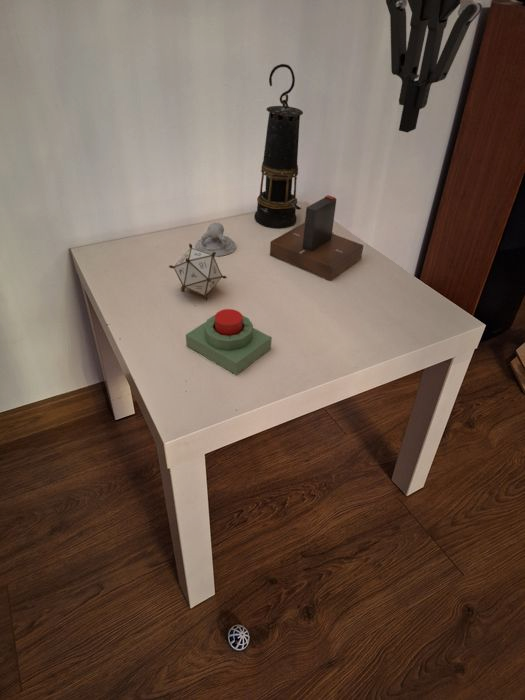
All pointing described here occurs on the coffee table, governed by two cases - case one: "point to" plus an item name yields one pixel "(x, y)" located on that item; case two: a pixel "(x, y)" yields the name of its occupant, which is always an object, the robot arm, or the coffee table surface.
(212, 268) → the game die
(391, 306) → the coffee table surface
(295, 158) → the lantern
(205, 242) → the miniature
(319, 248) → the block
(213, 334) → the button block
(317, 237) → the dark grey block
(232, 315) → the button
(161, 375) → the coffee table surface
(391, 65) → the robot arm
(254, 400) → the coffee table surface
